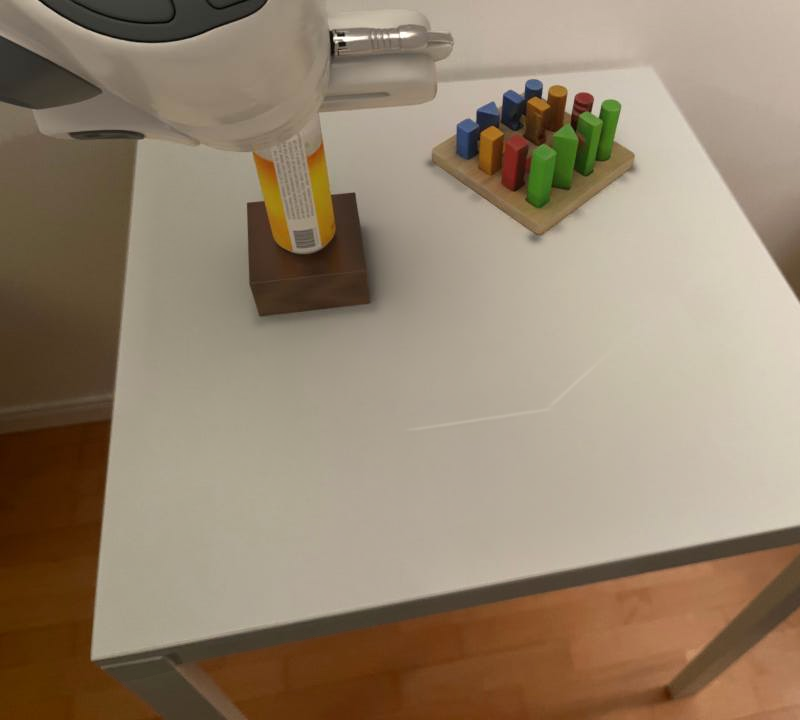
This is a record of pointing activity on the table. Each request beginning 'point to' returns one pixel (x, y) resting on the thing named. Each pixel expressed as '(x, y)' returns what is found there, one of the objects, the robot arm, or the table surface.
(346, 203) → the walnut block
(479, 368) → the table surface
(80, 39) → the robot arm
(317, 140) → the orange beverage can
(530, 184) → the peg board
